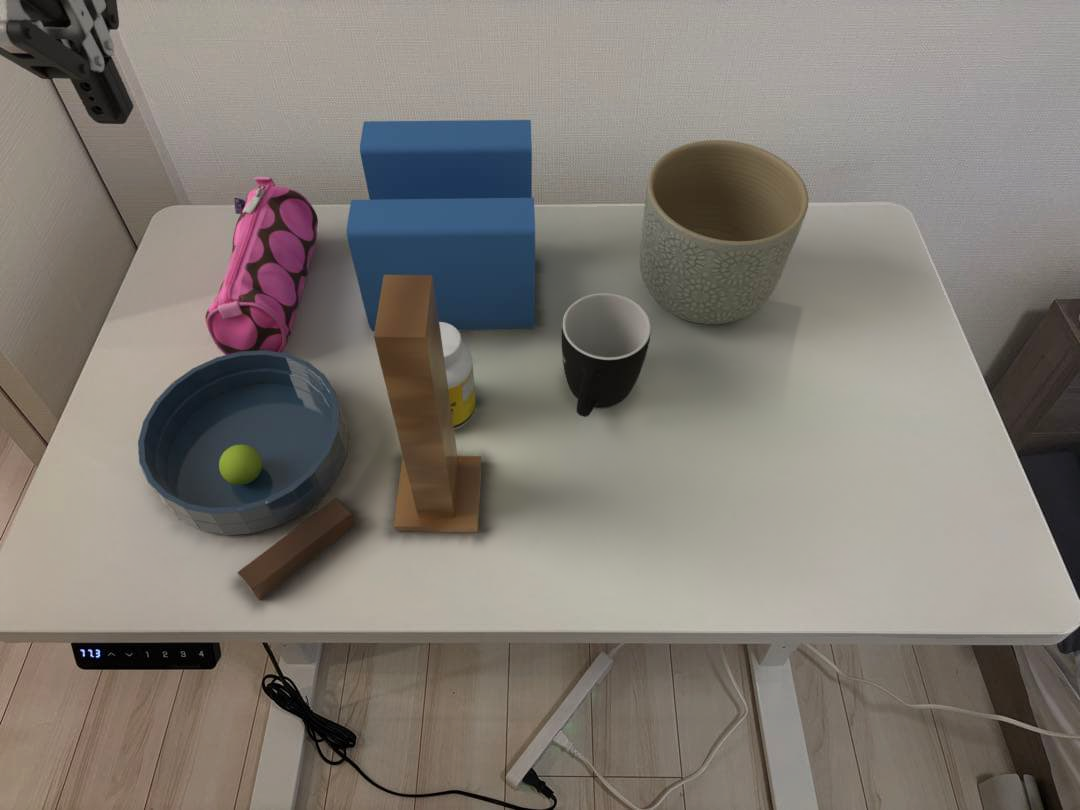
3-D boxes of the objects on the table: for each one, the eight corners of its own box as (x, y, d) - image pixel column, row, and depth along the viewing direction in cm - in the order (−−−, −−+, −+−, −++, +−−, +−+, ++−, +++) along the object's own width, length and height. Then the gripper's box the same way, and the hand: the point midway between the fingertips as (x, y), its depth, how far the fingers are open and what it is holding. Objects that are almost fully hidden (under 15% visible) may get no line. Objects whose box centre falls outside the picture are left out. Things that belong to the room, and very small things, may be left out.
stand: (395, 531, 77) (339, 347, 54) (404, 461, 82) (355, 264, 59) (477, 532, 77) (456, 348, 54) (481, 462, 82) (463, 265, 59)
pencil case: (248, 236, 101) (223, 172, 93) (325, 235, 101) (306, 170, 93) (214, 369, 88) (182, 308, 80) (302, 367, 89) (279, 306, 80)
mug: (573, 345, 91) (577, 283, 83) (649, 366, 89) (661, 305, 81) (538, 427, 84) (539, 368, 76) (619, 451, 83) (629, 394, 74)
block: (388, 242, 100) (364, 118, 86) (530, 240, 101) (530, 116, 86) (375, 353, 90) (345, 232, 75) (534, 350, 90) (535, 230, 76)
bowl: (235, 575, 74) (218, 552, 70) (120, 460, 81) (98, 433, 77) (386, 445, 83) (379, 418, 79) (270, 351, 90) (258, 322, 86)
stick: (351, 513, 75) (355, 525, 77) (335, 497, 76) (340, 509, 78) (251, 590, 71) (259, 600, 73) (236, 572, 72) (244, 582, 74)
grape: (242, 499, 78) (230, 479, 75) (218, 476, 80) (204, 455, 76) (275, 473, 80) (264, 452, 77) (250, 451, 81) (239, 429, 78)
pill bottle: (403, 411, 85) (388, 342, 76) (445, 375, 88) (435, 304, 79) (447, 444, 83) (436, 377, 73) (488, 406, 86) (484, 336, 76)
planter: (782, 345, 91) (822, 246, 79) (635, 341, 91) (652, 241, 79) (762, 243, 101) (794, 140, 89) (629, 240, 101) (643, 137, 89)
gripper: (-61, -262, 40) (92, 57, 54) (-209, -155, 33) (14, 183, 47) (86, -258, 40) (201, 60, 54) (-27, -151, 33) (141, 186, 47)
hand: (114, 117), depth 51 cm, fingers closed
